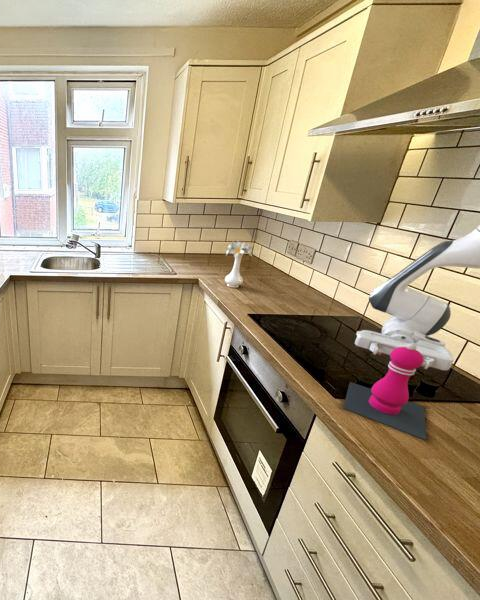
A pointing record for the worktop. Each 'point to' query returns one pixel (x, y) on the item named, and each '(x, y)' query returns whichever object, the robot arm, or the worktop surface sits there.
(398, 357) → the pepper mill
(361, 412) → the mat
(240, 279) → the flower vase
